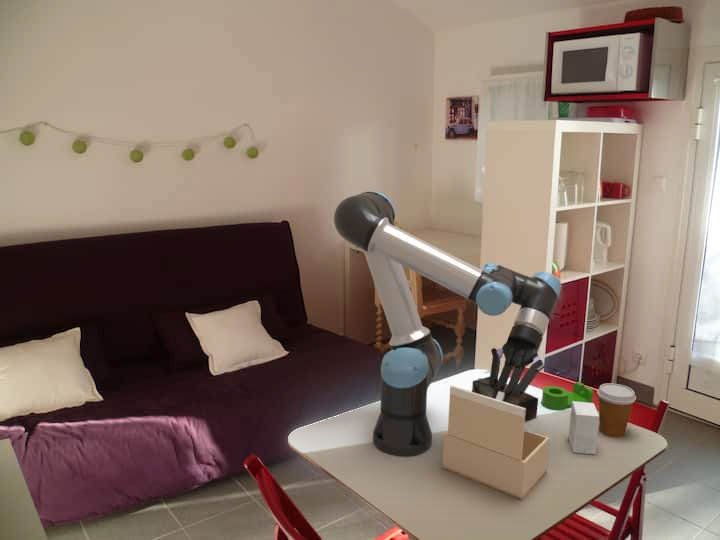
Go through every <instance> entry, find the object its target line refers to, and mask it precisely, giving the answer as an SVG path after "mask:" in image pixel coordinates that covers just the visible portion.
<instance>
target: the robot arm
mask: <svg viewBox="0 0 720 540" xmlns="http://www.w3.org/2000/svg"><path fill="white" fill-rule="evenodd" d="M395 219H396V209H395V206H394V204H393V202H392V201H391V199H390V198H388V196H386V195H385V194H383V193H381V192H378V191H366V192H365V191H364V192H361V193H359V194H356V195H351V196H348V197H346V198H345V199H343V200H341V201H340V202H339V204H338V205H337V206H336V209H335V211H334V216H333V223H334V227H335V229H336V231H337V233H338V234H339V236H340V237H341V238H343V240H345V242H348V243H350V244H351V245H353V246H355V248H356V250H357V251H358V250H359V251H361V252H362V253H363V254H364V257H365V260H366V262H367V265H368V267H369V271H370V274H371V277H372V280H373V283H374V286H375V288H376V292H377V294H378V297H379V300H380V303H381V306H382V309H383V313H384V315H385V317H386V318H385V319H386V321H387V324H388V327H389V330H390V333H391V338H390V340H389V342H388V344H389V347H390V350H389V351H388V352H386V353H385V354H384V356H383V357H382V360H381V366H380V412H379V416H377V417H378V418H377V421H376V423H375V425H374V428H373V434H372V441H373V444H374V445H375V447H376V446H377V448H378V449H379V450H381V451H382V452H384V453H387V454H390V455H395V456H403V457H405V456H406V457H407V456H415V455H420V454H422V453H424V452H426V451H428V450H429V449H430V448H431V446H432V444H433V443H432V441H433V433H432V429H431V427H430V426H431V425H430V423H429V422H430V421H429V420H428V416H427V403H428V402H427V397H428V389H429V387H430V385H431V384H432V383H433V381H434V379H435V378H436V377H437V375H438V373H439V372H440V371H441V367H442V365H443V364H442V363H443V359H444V358H443V356H444V355H443V351H442V347H441V346H440V344H439V342H438V341H437V340H436V339H434V338H433V336H432V333H431V330H430V329H429V328H428V327H426V326H423V324H422V320H421V318H420V315H419V311H418V308H417V306H416V303H415V300H414V298H413V294H412V291H411V288H410V285H409V282H408V279H407V276H406V272H405V271H404V267H405V268H407V269H409V270H411V271H413V272H414V273H417V274H419V275H420V276H423V277H425V278H427V279H429V280H430V281H433V282H434V283H437V284H439V285H440V286H442V287H445V288H446V289H448V290H450V291H452V292H453V293H456V294H458V295H460V296H462V297H464V298H465V299H467V300H469V301H471V302H473V303H474V304H476V305H477V307H478V309H479V310H480V311H481V312H482V314H483V313H484V314H485V315H488V316H490V317H492V316H494V317H495V316H500V315H502V314H503V313H505V312H506V311H507V309H508V308H510V307H511V305H512V304H515V305H517V306H520V307H519V311H518V313H517V314H516V317H515V320H514V322H513V326H512V327H511V329H510V332H509V335H508V337H507V340H506V342H505V343H504V344H503V345H502V347H500V348H497V349H496V348H495V347H494V348H491V350H490V351H491V355H492V359H491V360H492V361H491V368H490V374H489V377H490V380H489V385H490V387H491V388H492V390H494V394H493V397H492V398H493V399H497V400H500V401H503V402H507V403H510V401H511V399H512V398H513V397H518V398H520V397H521V396H522V395H523V393H524V392H525V393H526V391H527V389H528V388H529V386H530V384H531V383H532V381H533V380H534V379H535V377H536V376H537V374H538V373H540V372H541V371H542V370H543V369H545V365H544V362H543V360H542V359H540V358H539V354H538V351H539V349H540V347H541V345H542V342H543V337H544V335H545V333H546V331H547V328H548V325H549V323H550V319H551V317H552V315H553V313H554V310H555V307H556V305H557V303H558V300H559V296H560V293H561V290H562V281H561V280H560V279H559V278H558V277H557V276H556V275H554V274H552V273H550V272H544V271H537V272H535V273H534V274H533V276H528V275H525V274H523V273H520V272H518V271H515V270H512V269H510V268H507V267H505V266H503V265H501V264H497V263H493V262H491V261H490V262H486V263H485V265H484V267H483V268H482V269H481V268H479V267H477V266H474V265H473V264H470V263H469V262H467V261H465V260H463V259H460V258H459V257H457V256H455V255H452V254H451V253H448V252H447V251H445V250H442V249H441V248H439V247H437V246H435V245H433V244H432V243H431V244H430V243H429V242H427V241H425V240H423V239H421V238H419V237H417V236H415V235H413V234H411V233H409V232H407V231H405V230H403V229H401V228H399V227H397V226H396V225H395ZM503 355H504V359H505V360H504V364H503V368H502V369H501V372H500V367H501V359H502V358H503ZM530 364H531V365H530ZM529 365H530V366H529ZM528 366H529V368H528V369H527V371H526V372H525V374H524V375H523V373H524V371H525V369H526V367H528ZM522 375H523V377H522ZM521 377H522V378H521ZM509 378H510V379H509ZM508 381H509V382H508ZM506 384H508V386H507V389H506V390H505V392H506V393H503V391H504V389H505V386H506Z"/></svg>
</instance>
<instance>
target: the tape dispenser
mask: <svg viewBox="0 0 720 540" xmlns="http://www.w3.org/2000/svg"><path fill="white" fill-rule="evenodd" d="M593 398H594V390H593V388H592V387H590V386H585V384H584V383H583V382H580V381H579V382H578V381H577V382H574V383H573V385H572V391H570V392H569V391H568V390H567V389H565V388H562V387H560V386H553V385H552V386H551V385H549V386H545V387H543V389H542V395H541V405H542V406H543V407H544V408H546V409H548V410H550V411H556V412H557V411H559V412H560V411H561V412H562V411H565V410H568V409H571V405H572V401H576V402H587V403H593V400H594V399H593Z"/></svg>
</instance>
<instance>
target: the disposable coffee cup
mask: <svg viewBox="0 0 720 540" xmlns="http://www.w3.org/2000/svg"><path fill="white" fill-rule="evenodd" d="M596 392H597V395H598V414H599V431H600V432H601V433H602V434H604V435H606V436H609V437H614V438H618V437H619V438H621V437H624V436H625V434H626V432H627V431H626V430H627V426H628V423H629V421H630V420H629V419H630V416H631V412H632V408H633V405H634V403H635V401H636V399H637V396H636V394H635V393H636V392H635V391H634V390H633V388H631V387H629V386H627V385H623V384H619V383H611V382H610V383H603V384H600V385H599V387H598V389H597V391H596Z"/></svg>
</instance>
